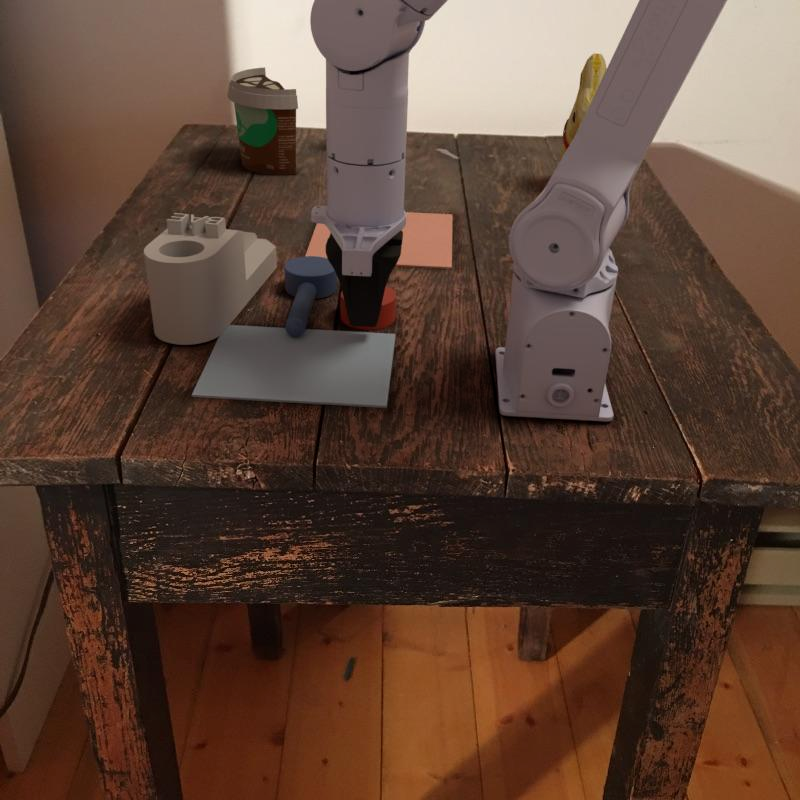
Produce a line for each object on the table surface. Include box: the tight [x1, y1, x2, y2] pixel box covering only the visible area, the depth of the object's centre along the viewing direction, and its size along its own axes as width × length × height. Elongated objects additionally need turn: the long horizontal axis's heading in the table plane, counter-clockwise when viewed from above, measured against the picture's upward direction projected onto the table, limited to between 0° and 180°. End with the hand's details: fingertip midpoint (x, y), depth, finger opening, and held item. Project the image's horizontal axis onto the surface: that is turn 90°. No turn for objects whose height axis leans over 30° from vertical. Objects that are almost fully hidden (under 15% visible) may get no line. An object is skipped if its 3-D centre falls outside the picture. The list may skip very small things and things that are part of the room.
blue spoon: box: [283, 255, 338, 337], centre depth 78 cm, size 12×5×2 cm, turn 177°
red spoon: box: [340, 285, 397, 331], centre depth 80 cm, size 12×5×2 cm, turn 177°
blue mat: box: [191, 324, 397, 409], centre depth 70 cm, size 11×14×1 cm
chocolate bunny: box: [559, 53, 608, 162], centre depth 103 cm, size 7×11×15 cm, turn 174°
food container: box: [227, 67, 299, 176], centre depth 108 cm, size 12×6×10 cm, turn 25°
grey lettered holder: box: [143, 212, 278, 346], centre depth 77 cm, size 6×18×8 cm, turn 168°
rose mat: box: [304, 211, 454, 270], centre depth 92 cm, size 14×14×1 cm
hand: (363, 322), depth 73 cm, fingers closed
